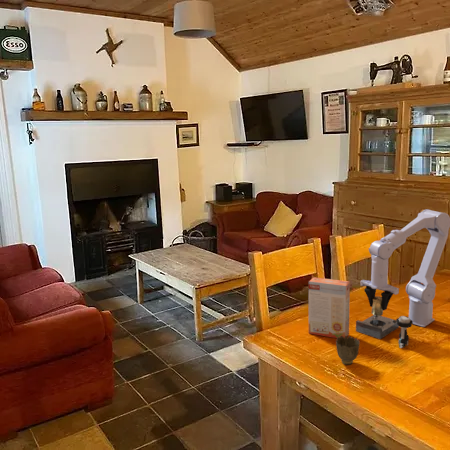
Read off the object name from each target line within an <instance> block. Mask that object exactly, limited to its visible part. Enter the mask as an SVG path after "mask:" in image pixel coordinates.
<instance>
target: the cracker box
mask: <svg viewBox="0 0 450 450" xmlns="http://www.w3.org/2000/svg"><path fill="white" fill-rule="evenodd" d="M350 282H351V281H349V280H348V281H347V280H341V279H340V280H339V279H331V278H322V277H315V276H314V277H312V278H311V279H310V280H309V281H308V334H310V335H316V336H317V335H318V336H322V337H328V338H333V339H337V338H338V337H339V338H340V336H343V337H344V338H345V336H347V337H349V336H350V335H349V334H350V299H351V298H350V291H351V290H350V289H351V287H350V285H351V283H350Z"/></svg>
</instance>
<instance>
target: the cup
mask: <svg viewBox="0 0 450 450" xmlns="http://www.w3.org/2000/svg"><path fill="white" fill-rule="evenodd" d="M360 343H361V342H360V340H359V339H358V338H357V337H356V338H355V337H353V336H352V337H351V336H350V335H348V336H345V338H344V337H343V336H340V338H339V337H338V338H336V339H335V344H336V352H337V355H338V357H339V358H340V361H341V363H342V364H343V365H345V366H351V365H352V364H353V363H354V361H355V360H356V359H357V357H358V355H359V350H360V349H359V348H360Z"/></svg>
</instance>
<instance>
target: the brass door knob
mask: <svg viewBox="0 0 450 450" xmlns="http://www.w3.org/2000/svg"><path fill="white" fill-rule="evenodd" d="M372 300H373V304H372V307H371V314H372V316H373V315H376V316H383V315H384V314H383V312H384V310H382V296H377V295H375V297H373V298H372Z"/></svg>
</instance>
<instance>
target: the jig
mask: <svg viewBox="0 0 450 450" xmlns="http://www.w3.org/2000/svg"><path fill="white" fill-rule="evenodd" d="M398 328H399V329H400V326H398V325H397V322H396V319H393V318H391V317H386V316H383V315H382V316H376V315H373V314H372V315H371V316H368V317H367V318H366V319H364V320H359V319H358V320H356V321H355V332H357V333H361V334H364V335H367V336H369V337H373V338H376V339H377V340H378V339H379V340H381V339H383V338H384V337H386V336H387V335H389V334H391V333H392V332H394V331H396V330H397V329H398Z"/></svg>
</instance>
